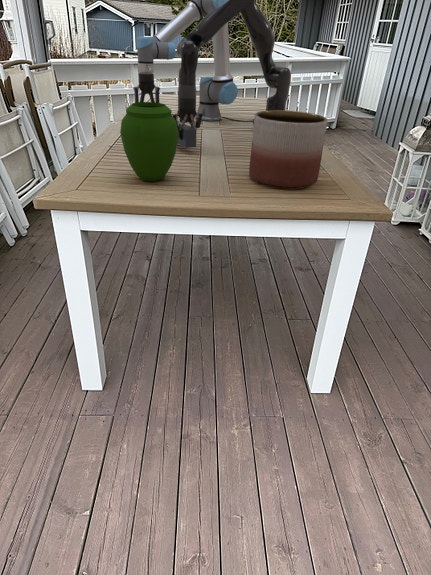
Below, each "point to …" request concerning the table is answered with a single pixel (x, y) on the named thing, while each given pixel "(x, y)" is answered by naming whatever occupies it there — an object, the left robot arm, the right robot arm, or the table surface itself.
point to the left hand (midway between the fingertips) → (148, 122)
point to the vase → (149, 139)
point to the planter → (287, 148)
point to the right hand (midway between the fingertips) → (186, 138)
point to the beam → (188, 137)
